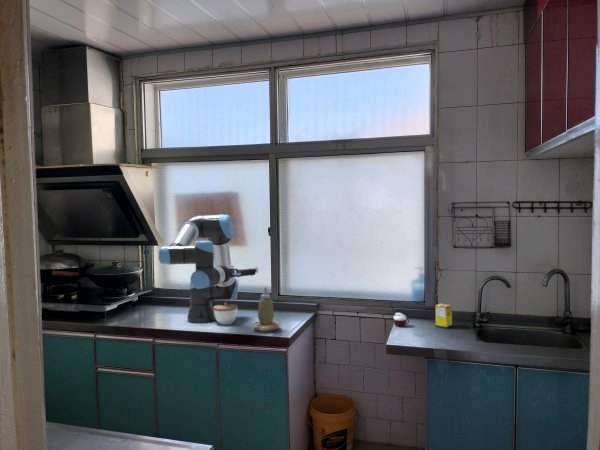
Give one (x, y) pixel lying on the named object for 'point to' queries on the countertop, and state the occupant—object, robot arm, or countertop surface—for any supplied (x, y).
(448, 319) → the supplement box
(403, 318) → the cocoa
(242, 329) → the countertop surface
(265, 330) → the tan round disc
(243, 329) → the countertop surface
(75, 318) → the countertop surface
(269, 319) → the squeeze bottle
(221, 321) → the lidded bowl
